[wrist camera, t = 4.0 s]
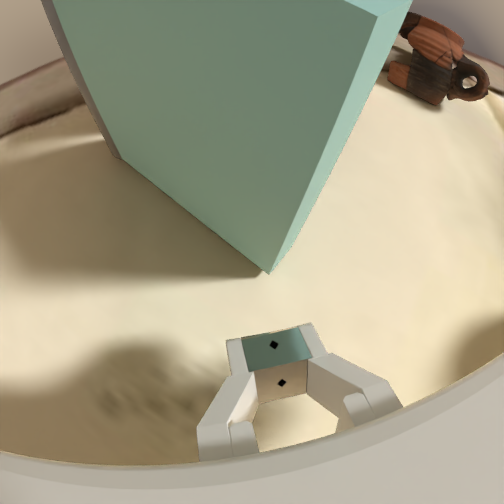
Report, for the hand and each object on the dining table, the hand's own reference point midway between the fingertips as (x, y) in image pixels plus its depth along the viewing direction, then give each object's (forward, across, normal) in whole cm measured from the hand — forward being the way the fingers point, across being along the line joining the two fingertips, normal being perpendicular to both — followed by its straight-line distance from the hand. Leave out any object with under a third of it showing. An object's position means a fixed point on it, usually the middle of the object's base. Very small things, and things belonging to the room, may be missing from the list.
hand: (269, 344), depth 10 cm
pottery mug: (+18, -21, -10) cm, 30 cm away
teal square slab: (+10, +2, -3) cm, 11 cm away
